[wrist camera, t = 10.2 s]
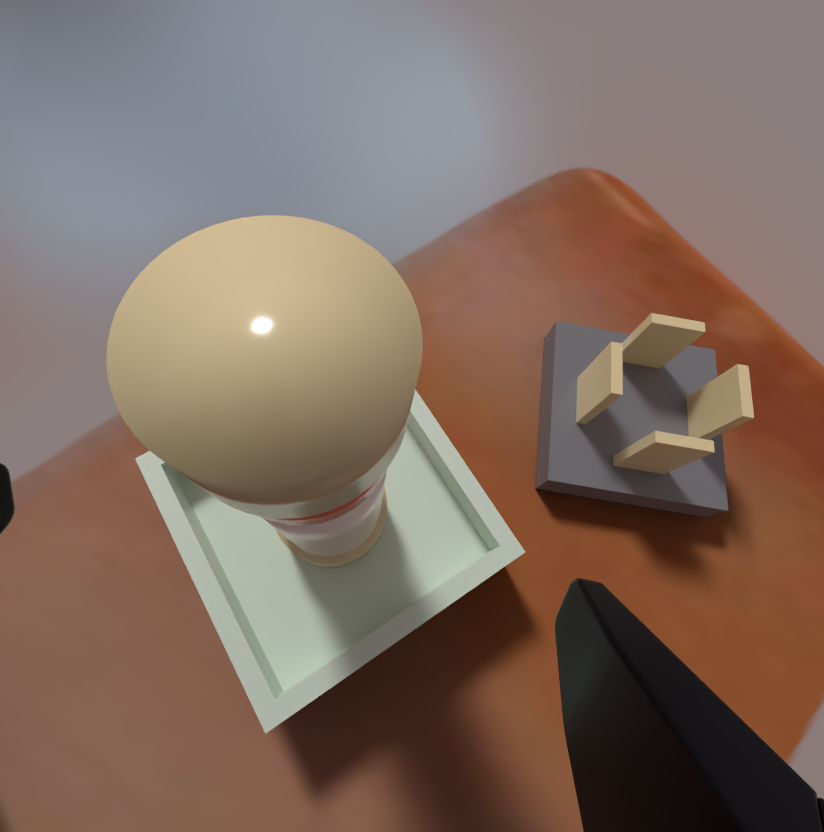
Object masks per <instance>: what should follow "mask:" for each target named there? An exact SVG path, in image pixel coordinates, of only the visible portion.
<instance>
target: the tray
mask: <svg viewBox="0 0 824 832" xmlns="http://www.w3.org/2000/svg"><path fill="white" fill-rule="evenodd" d="M135 459H136V461H137V463H138V466H139V468H140V470H141V472H142V474H143V476H144V478H145V480H146V482H147V485H148V487H149V489H150V491H151V493H152V495H153V497H154V499H155V501H156V504H157V506H158V508H159V510H160V512H161V514H162V516H163V518H164V520H165V523H166V525H167V527H168V529H169V531H170V533H171V535H172V537H173V539H174V542H175V544H176V546H177V548H178V550H179V552H180V554H181V556H182V558H183V561H184V563H185V565H186V567H187V569H188V571H189V573H190V575H191V577H192V580H193V582H194V584H195V586H196V588H197V590H198V592H199V594H200V596H201V599H202V601H203V603H204V605H205V607H206V609H207V611H208V613H209V615H210V618H211V620H212V622H213V624H214V626H215V628H216V630H217V632H218V634H219V637H220V639H221V641H222V643H223V645H224V647H225V649H226V651H227V653H228V656H229V658H230V660H231V662H232V664H233V666H234V668H235V670H236V672H237V675H238V677H239V679H240V681H241V683H242V685H243V687H244V689H245V691H246V694H247V696H248V698H249V700H250V702H251V704H252V706H253V708H254V710H255V713H256V715H257V717H258V719H259V721H260V723H261V725H262V727H263V729H264V732H265V734H266V733H267V732H269V731H270V730H272V729H273V728H274V727H276V726H277V725H279V724H280V723H282V722H283V721H284V720H286V719H287V718H289V717H290V716H292V715H293V714H294V713H296V712H297V711H299V710H300V709H302V708H303V707H305V706H306V705H307V704H309V703H310V702H312V701H313V700H315V699H316V698H317V697H319V696H320V695H322V694H323V693H325V692H326V691H327V690H329V689H330V688H332V687H333V686H335V685H336V684H337V683H339V682H340V681H342V680H343V679H345V678H346V677H347V676H349V675H350V674H352V673H353V672H355V671H356V670H357V669H359V668H360V667H362V666H363V665H365V664H366V663H367V662H369V661H370V660H372V659H373V658H375V657H376V656H377V655H379V654H380V653H382V652H383V651H385V650H386V649H387V648H389V647H390V646H392V645H393V644H395V643H396V642H397V641H399V640H400V639H402V638H403V637H405V636H406V635H407V634H409V633H410V632H412V631H413V630H415V629H416V628H418V627H419V626H420V625H422V624H423V623H425V622H426V621H428V620H429V619H430V618H432V617H433V616H435V615H436V614H438V613H439V612H440V611H442V610H443V609H445V608H446V607H448V606H449V605H450V604H452V603H453V602H455V601H456V600H458V599H459V598H460V597H462V596H463V595H465V594H466V593H468V592H469V591H470V590H472V589H473V588H475V587H476V586H478V585H479V584H480V583H482V582H483V581H485V580H486V579H488V578H489V577H490V576H492V575H493V574H495V573H496V572H498V571H499V570H500V569H502V568H503V567H505V566H506V565H508V564H509V563H510V562H512V561H513V560H515V559H516V558H518V557H519V556H521V555H522V554H523V553H525V551H524V549H523V548H522V546H521V545H520V543H519V542H518V541H517V539H516V538H515V536H514V535H513V533H512V532H511V530H510V529H509V527H508V526H507V524H506V523H505V521H504V520H503V518H502V517H501V515H500V514H499V512H498V511H497V509H496V508H495V507H494V505H493V504H492V502H491V501H490V499H489V498H488V496H487V495H486V493H485V492H484V490H483V489H482V487H481V486H480V484H479V483H478V481H477V480H476V478H475V477H474V475H473V474H472V472H471V471H470V470H469V468H468V467H467V465H466V464H465V462H464V461H463V459H462V458H461V456H460V455H459V453H458V452H457V450H456V449H455V447H454V446H453V444H452V443H451V441H450V440H449V438H448V437H447V436H446V434H445V433H444V431H443V430H442V428H441V427H440V425H439V424H438V422H437V421H436V419H435V418H434V416H433V415H432V413H431V412H430V410H429V409H428V407H427V406H426V404H425V403H424V401H423V400H422V399H421V397H420V396H419V394H418V393H417V391H416V390H415V393H414V397H413V401H412V405H411V410H410V414H409V418H408V423H407V427H406V431H405V435H404V438H403V440H402V443H401V446H400V448H399V450H398V452H397V454H396V456H395V457H394V459H393V461H392V463H391V464H390V465H389V467H388V468H387V473H386V479H385V485H384V487H385V491H386V496H387V512H386V517H385V521H384V525H383V530H382V532H381V535H380V537H379V539H378V541H377V543H376V544H375V545H374V547H373V548H372V549H371V550H370V551H369V552H368V553H367V554H366V555H365V556H364V557H362V558H361V559H359V560H358V561H356V562H354V563H352V564H349V565H346V566H343V567H337V568H326V567H320V566H316V565H313V564H311V563H308V562H307V561H305V560H303V559H302V558H300V557H299V556H298V555H296V554H295V553H293V552H292V551H291V550H290V549H289V548H288V547H287V546H286V545H285V544H284V543H283V542H282V540H281V539H280V538H279V536H278V534H277V532H276V530H275V528H274V527H273V526H271V525H270V524H269V523H268V522H267V521H265V520H264V519H263V518H262V517H260V516H256V515H252V514H248V513H245V512H242V511H240V510H237V509H235V508H232V507H230V506H228V505H227V504H225V503H223V502H221V501H219V500H218V499H216V498H215V497H213V496H212V495H211V494H209V493H208V492H206V491H205V490H203V489H202V488H201V487H199V486H198V485H196V484H195V483H193V482H192V481H191V480H189V479H188V478H186V477H185V476H184V475H182V474H181V473H179V472H178V471H176V470H175V469H174V468H172V467H171V466H169V465H168V464H166V463H165V462H164V461H162V460H161V459H160V458H158V457H157V456H156V455H155V454H153V453H152V452H151V451H149V452H147V453H145V454H143V455H141V456H139V457H137V458H135Z"/></svg>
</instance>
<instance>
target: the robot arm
mask: <svg viewBox="0 0 824 832" xmlns="http://www.w3.org/2000/svg"><path fill="white" fill-rule="evenodd" d="M14 509H15V507H14V499H13V493H12V487H11V480H10V474H9V471H8V469H7V468H6V466H5V465H3V464H1V463H0V534H1V533H2V531H3V530H4V529H5V528H6V527H7V525H8V524H9V523H10V521H11V519H12V517H13V514H14ZM555 634H556V645H557V657H558V668H559V680H560V691H561V702H562V713H563V722H564V730H565V736H566V742H567V747H568V753H569V758H570V763H571V768H572V773H573V778H574V784H575V789H576V794H577V799H578V804H579V809H580V815H581V820H582V825H583V830H584V832H824V799H822V798H817V794H816V792H815V791H814V790H813V789H812V788H811V787H810V786H809V785H808V784H807V783H806V782H805V781H804V780H803V779H802V778H801V777H800V776H799V775H798V774H797V773H796V772H795V771H794V770H793V769H792V768H791V767H790V766H789V765H788V764H787V763H786V762H785V761H784V760H783V759H782V758H781V757H780V756H779V755H777V754H776V753H775V752H774V751H773V750H772V749H771V748H770V747H769V746H768V745H767V744H766V743H765V742H764V741H763V740H762V739H761V738H760V737H759V736H758V735H757V734H756V733H755V732H754V731H753V730H752V729H751V728H750V727H749V726H748V725H747V724H746V723H745V722H744V721H743V720H742V719H741V718H739V717H738V716H737V715H736V714H735V713H734V712H733V711H732V710H731V709H730V708H729V707H728V706H727V705H726V704H725V703H724V702H723V701H722V700H721V699H720V698H719V697H718V696H717V695H716V694H715V693H714V692H713V691H712V690H711V689H710V688H709V687H708V686H707V685H706V684H705V683H704V682H703V681H701V680H700V679H699V678H698V677H697V676H696V675H695V674H694V673H693V672H692V671H691V670H690V669H689V668H688V667H687V666H686V665H685V664H684V663H683V662H682V661H681V660H680V659H679V658H678V657H677V656H676V655H675V654H674V653H673V652H672V651H671V650H670V649H669V648H668V647H667V646H666V645H664V644H663V643H662V642H661V641H660V640H659V639H658V638H657V637H656V636H655V635H654V634H653V633H652V632H651V631H650V630H649V629H648V628H647V627H646V626H645V625H644V624H643V623H642V622H641V621H640V620H639V619H638V618H637V617H636V616H635V615H634V614H633V613H632V612H631V611H630V610H629V609H628V608H626V607H625V606H624V605H623V604H622V603H621V602H620V601H619V600H618V599H617V598H616V597H615V596H614V595H613V594H612V593H611V592H610V591H609V590H608V589H607V588H606V587H605V586H604V585H603V584H601V583H599V582H596V581H591V580H586V579H581V578H577V579H574V580H573V581H572V582H571V584H570V586H569V588H568V591H567V593H566V595H565V598H564V600H563V602H562V605H561V607H560V609H559V612H558V614H557V617H556V623H555Z"/></svg>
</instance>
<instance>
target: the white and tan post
mask: <svg viewBox="0 0 824 832" xmlns="http://www.w3.org/2000/svg"><path fill="white" fill-rule="evenodd" d="M422 349H423V343H422V328H421V324H420V319H419V314H418V311H417V308H416V305H415V302H414V300H413V297H412V295H411V293H410V291H409V289H408V288H407V286H406V284H405V282H404V281H403V279H402V278H401V277H400V275H399V274H398V272H397V271H396V270H395V268H394V267H393V266H392V265H391V264H390V263H389V262H388V261H387V260H386V259H385V258H384V257H383V256H382V255H381V254H380V253H378V252H377V251H376V250H375V249H373V248H372V247H371V246H370V245H368V244H367V243H365V242H364V241H362V240H360V239H359V238H358V237H356V236H354V235H352V234H350V233H348V232H346V231H344V230H342V229H340V228H337V227H334V226H331V225H329V224H326V223H323V222H319V221H315V220H310V219H306V218H300V217H292V216H275V215H274V216H273V215H266V216H253V217H245V218H240V219H234V220H230V221H226V222H223V223H219V224H216V225H212V226H210V227H207V228H205V229H203V230H200V231H197V232H195V233H193V234H191V235H189V236H188V237H186V238H184V239H182V240H180V241H178V242H177V243H175V244H174V245H172V246H171V247H170V248H168V249H167V250H165V251H164V252H162V253H161V254H160V255H159V256H158V257H157V258H155V259H154V260H153V261H152V262H151V263H150V264H148V266H147V267H146V268H145V269H144V270H143V271H142V273H140V274H139V276H138V277H137V278H136V279H135V281H134V282H133V283H132V285H131V286H130V288H129V289H128V290H127V292H126V293H125V295H124V297H123V299H122V301H121V303H120V305H119V307H118V309H117V311H116V314H115V316H114V319H113V322H112V325H111V328H110V333H109V339H108V344H107V371H108V380H109V385H110V388H111V392H112V395H113V399H114V402H115V404H116V406H117V408H118V410H119V412H120V414H121V416H122V418H123V420H124V421H125V423H126V424H127V426H128V427H129V428H130V430H131V431H132V433H133V434H134V435H135V436H136V438H137V439H138V440H139V441H140V442H141V443H142V444H143V445H144V446H145V447H146V448H147V449H148V450H149V451H151V452H152V453H153V454H155V455H156V456H157V457H158V458H160V459H161V460H162V461H164V462H165V463H166V464H168V465H169V466H171V467H172V468H174V469H175V470H176V471H178V472H179V473H181V474H182V475H184V476H185V477H186V478H188V479H189V480H191V481H192V482H193V483H195V484H196V485H198V486H199V487H201V488H202V489H203V490H205V491H206V492H208V493H209V494H211V495H212V496H213V497H215V498H216V499H218V500H219V501H221V502H223V503H225V504H227V505H228V506H230V507H232V508H235V509H237V510H240V511H242V512H245V513H248V514H252V515H256V516H260V517H262V518H263V519H264V520H265V521H267V522H268V523H269V524H270V525H271V526H273V527H274V528H275V530H276V532H277V534H278V536H279V538H280V539H281V540H282V542H283V543H284V544H285V545H286V546H287V547H288V548H289V549H290V550H291V551H292V552H293V553H295V554H296V555H298V556H299V557H300V558H302V559H303V560H305V561H307V562H308V563H311V564H313V565H316V566H320V567H326V568H337V567H343V566H346V565H349V564H352V563H354V562H356V561H358V560H359V559H361V558H362V557H364V556H365V555H366V554H367V553H368V552H369V551H370V550H371V549H372V548H373V547H374V545H375V544H376V543H377V541H378V539H379V537H380V535H381V532H382V530H383V525H384V521H385V517H386V512H387V496H386V491H385V487H384V485H385V479H386V473H387V468H388V467H389V465H390V464H391V463H392V461H393V459H394V457H395V456H396V454H397V452H398V450H399V448H400V446H401V443H402V440H403V438H404V435H405V431H406V427H407V423H408V418H409V414H410V410H411V405H412V401H413V397H414V393H415V388H416V384H417V380H418V375H419V371H420V367H421V360H422Z"/></svg>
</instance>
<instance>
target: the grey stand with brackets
mask: <svg viewBox="0 0 824 832" xmlns="http://www.w3.org/2000/svg"><path fill="white" fill-rule="evenodd" d="M704 333H705V323H704V322H698V321H693V320H687V319H682V318H676V317H671V316H665V315H660V314H654V313H651V314H650V315H649V316H648V317H647V318H646V319H645V320H644V321H643V322H642V323H641V324H640V325H639V326H638V327H637V328H636V329H635V330H634V331H633V332H632V333H631V334H624V333H619V332H613V331H608V330H602V329H597V328H591V327H585V326H580V325H574V324H569V323H563V322H558V321H556V322H555V324H554V325H553V327H552V328H551V330H550V331H549V333H548V334H547V336H546V337H545V338H544V353H543V369H542V386H541V403H540V419H539V436H538V452H537V469H536V486H535V489H540V490H546V491H552V492H558V493H564V494H570V495H576V496H582V497H588V498H594V499H599V500H605V501H611V502H617V503H623V504H629V505H635V506H641V507H647V508H652V509H658V510H664V511H670V512H676V513H682V514H688V515H694V516H700V517H706V516H710V515H714V514H718V513H721V512H725V511H728V500H727V488H726V476H725V464H724V452H723V440H722V433H724V432H726V431H728V430H730V429H732V428H734V427H736V426H738V425H740V424H742V423H745V422H747V421H749V420H751V419H753V418H754V413H753V404H752V395H751V386H750V376H749V367H748V366H745V365H740V364H737V365H735V366H734V367H732V368H731V369H729V370H728V371H726V372H724V373H723V374H721V375H720V376H718V377H717V368H716V356H715V350H713V349H708V348H702V347H697V346H691V345H690V344H691V343H692V342H694V341H695V340H696V339H697V338H699V337H700V336H701V335H702V334H704Z"/></svg>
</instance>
